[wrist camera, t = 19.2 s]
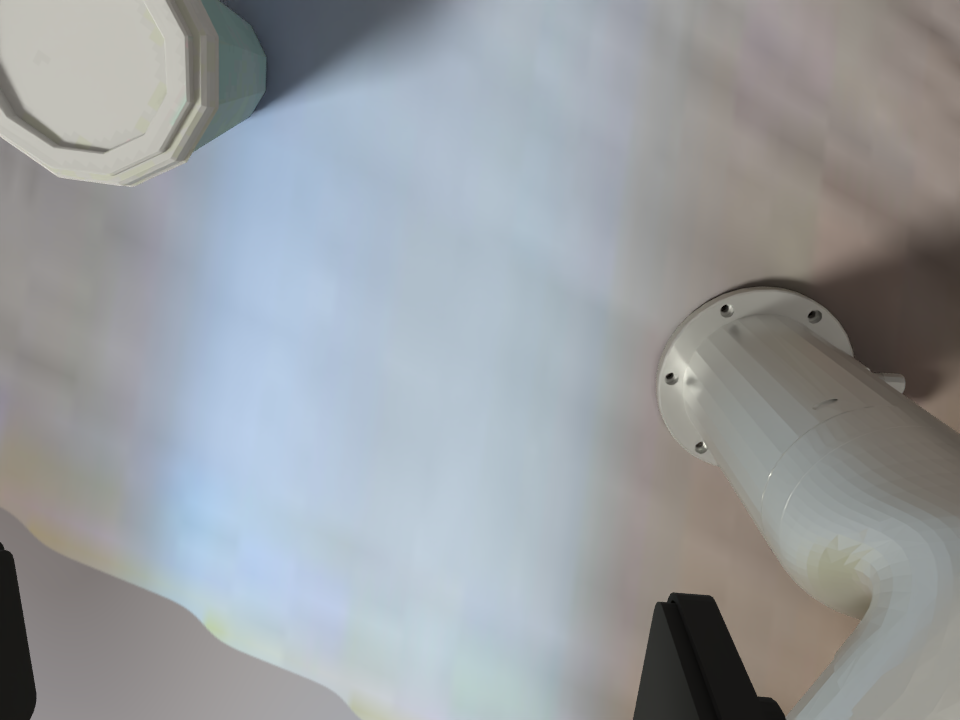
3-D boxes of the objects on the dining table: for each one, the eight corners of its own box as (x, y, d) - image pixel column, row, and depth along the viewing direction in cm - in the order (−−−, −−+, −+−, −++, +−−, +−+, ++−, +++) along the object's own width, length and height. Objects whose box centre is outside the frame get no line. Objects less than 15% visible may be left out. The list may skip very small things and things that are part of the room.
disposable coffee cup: (339, 88, 42) (260, 78, 28) (209, 201, 44) (74, 246, 30) (211, -77, 39) (51, -180, 25) (79, 53, 41) (-136, 27, 27)
